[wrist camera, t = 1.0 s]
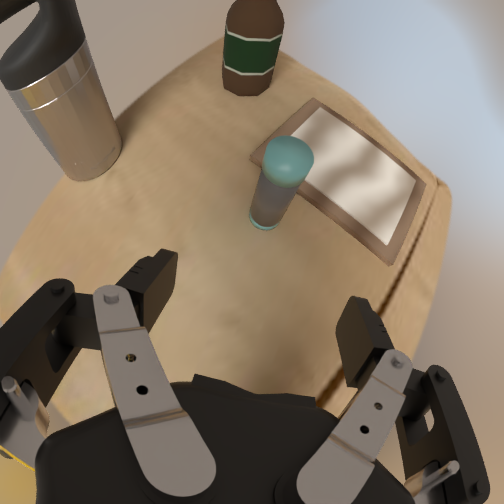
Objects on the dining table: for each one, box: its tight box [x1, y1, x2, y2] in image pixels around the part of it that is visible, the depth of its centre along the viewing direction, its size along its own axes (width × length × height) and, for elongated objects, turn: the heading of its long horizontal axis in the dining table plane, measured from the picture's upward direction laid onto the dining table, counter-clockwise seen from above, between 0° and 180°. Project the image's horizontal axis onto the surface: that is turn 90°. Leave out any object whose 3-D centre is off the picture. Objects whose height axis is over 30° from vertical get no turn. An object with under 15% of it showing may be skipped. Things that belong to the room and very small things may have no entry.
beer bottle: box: [222, 0, 284, 96], centre depth 27 cm, size 8×8×24 cm
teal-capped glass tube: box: [249, 135, 314, 230], centre depth 26 cm, size 4×4×12 cm
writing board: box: [250, 98, 426, 266], centre depth 35 cm, size 22×16×1 cm
